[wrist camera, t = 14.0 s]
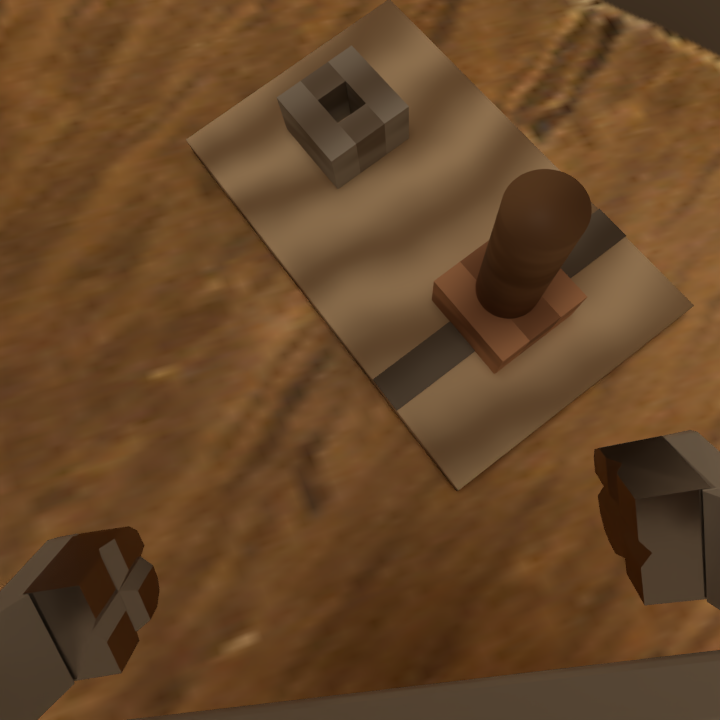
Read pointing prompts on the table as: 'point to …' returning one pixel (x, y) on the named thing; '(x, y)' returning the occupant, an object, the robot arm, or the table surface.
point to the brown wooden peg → (531, 240)
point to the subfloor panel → (425, 240)
